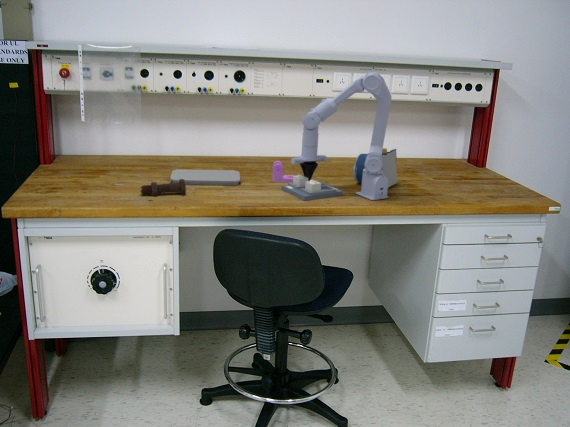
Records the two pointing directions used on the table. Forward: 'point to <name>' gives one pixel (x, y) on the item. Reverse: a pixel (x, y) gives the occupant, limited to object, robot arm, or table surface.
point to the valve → (387, 166)
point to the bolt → (164, 188)
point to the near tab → (312, 186)
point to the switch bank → (306, 195)
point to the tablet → (206, 177)
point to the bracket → (280, 173)
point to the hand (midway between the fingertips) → (307, 181)
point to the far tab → (299, 180)
